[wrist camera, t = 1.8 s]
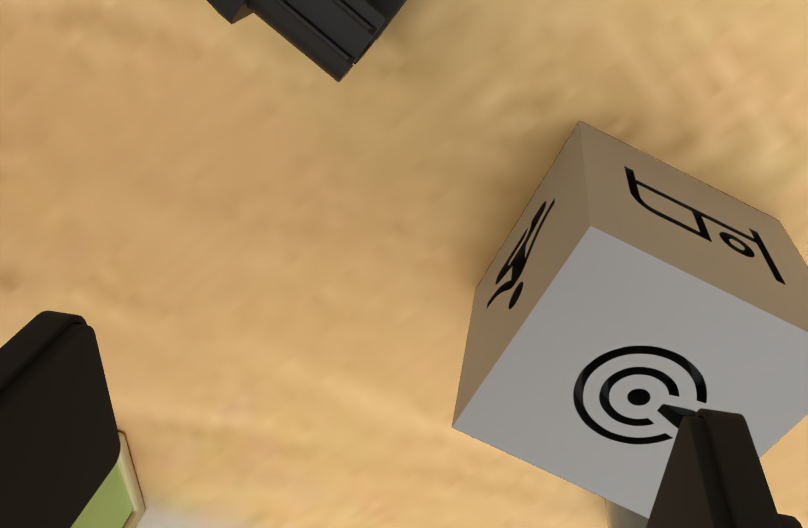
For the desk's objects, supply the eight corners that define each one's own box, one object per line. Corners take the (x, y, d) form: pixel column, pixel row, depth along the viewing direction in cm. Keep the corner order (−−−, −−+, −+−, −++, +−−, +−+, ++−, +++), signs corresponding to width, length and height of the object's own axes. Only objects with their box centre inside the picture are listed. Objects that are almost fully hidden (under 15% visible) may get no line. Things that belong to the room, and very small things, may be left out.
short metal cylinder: (591, 510, 42) (595, 584, 38) (624, 440, 39) (632, 513, 34) (691, 536, 41) (707, 614, 37) (732, 468, 38) (755, 544, 34)
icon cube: (779, 221, 31) (866, 361, 22) (648, 372, 36) (677, 532, 28) (579, 120, 30) (590, 225, 22) (475, 289, 35) (451, 427, 27)
